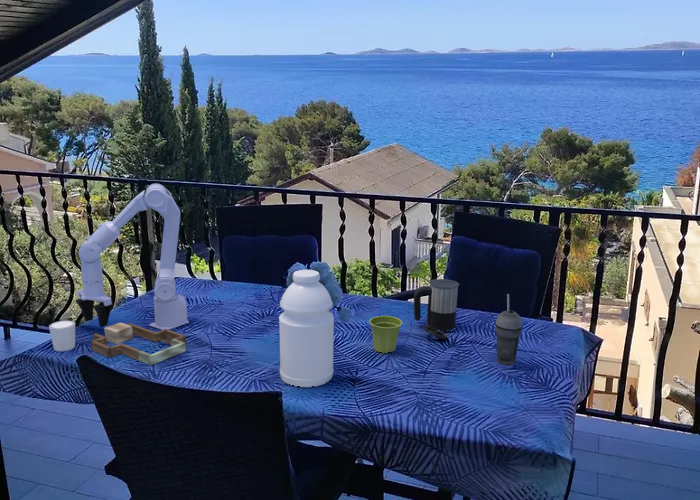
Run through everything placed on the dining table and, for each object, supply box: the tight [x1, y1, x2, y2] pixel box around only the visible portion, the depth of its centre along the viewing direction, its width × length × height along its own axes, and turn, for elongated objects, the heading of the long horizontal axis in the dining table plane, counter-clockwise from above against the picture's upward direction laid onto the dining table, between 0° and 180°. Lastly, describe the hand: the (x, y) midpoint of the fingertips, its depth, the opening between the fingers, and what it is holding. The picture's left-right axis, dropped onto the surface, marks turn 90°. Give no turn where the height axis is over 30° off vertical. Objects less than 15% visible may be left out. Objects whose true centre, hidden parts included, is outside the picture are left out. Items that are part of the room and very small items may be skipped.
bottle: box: [278, 269, 335, 388], centre depth 159 cm, size 14×14×28 cm
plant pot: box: [369, 315, 403, 354], centre depth 179 cm, size 9×9×9 cm
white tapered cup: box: [48, 320, 76, 352], centre depth 178 cm, size 7×7×7 cm
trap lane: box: [89, 322, 187, 366], centre depth 179 cm, size 19×26×2 cm
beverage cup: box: [494, 293, 524, 366], centre depth 168 cm, size 7×7×20 cm
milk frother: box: [413, 278, 460, 340], centre depth 192 cm, size 14×16×15 cm
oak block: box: [103, 322, 134, 345], centre depth 184 cm, size 6×6×4 cm
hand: (96, 323), depth 190 cm, fingers open, 7 cm apart
